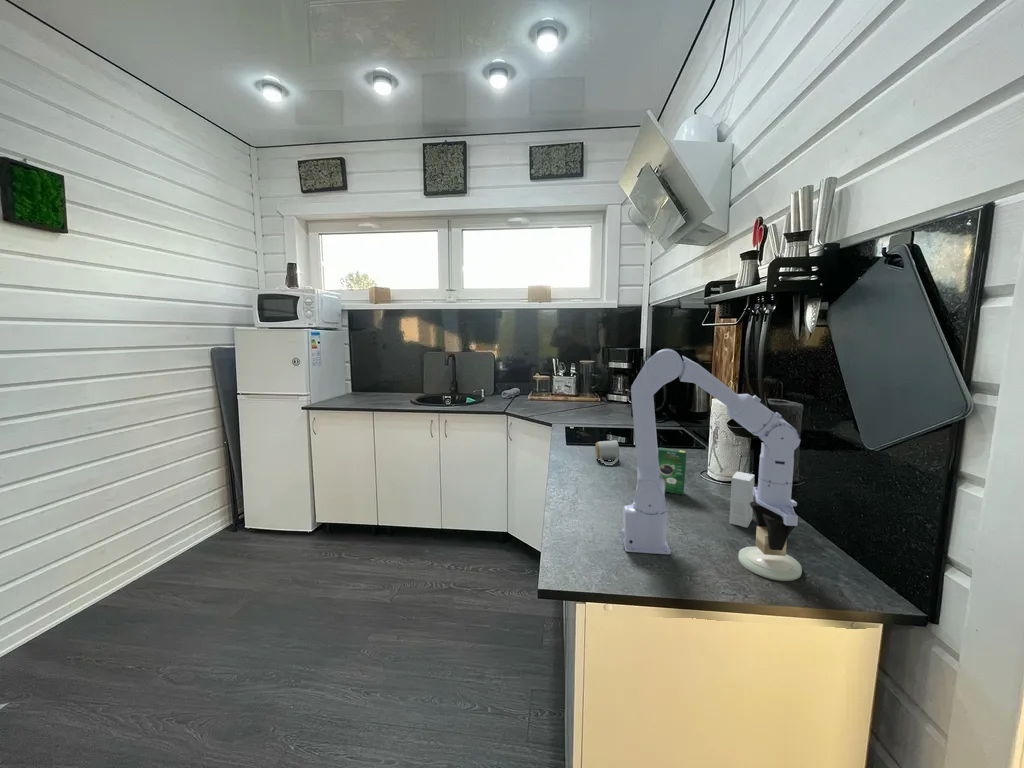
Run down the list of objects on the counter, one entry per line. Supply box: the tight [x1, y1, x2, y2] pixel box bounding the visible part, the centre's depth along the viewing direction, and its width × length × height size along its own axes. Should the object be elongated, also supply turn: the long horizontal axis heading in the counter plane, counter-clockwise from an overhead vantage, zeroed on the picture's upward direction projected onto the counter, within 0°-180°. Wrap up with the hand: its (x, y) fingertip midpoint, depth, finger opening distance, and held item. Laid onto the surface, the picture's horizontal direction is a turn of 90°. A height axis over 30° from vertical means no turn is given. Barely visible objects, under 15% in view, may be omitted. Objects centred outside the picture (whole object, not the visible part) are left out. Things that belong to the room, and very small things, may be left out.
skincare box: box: [728, 471, 756, 528], centre depth 103 cm, size 6×4×12 cm
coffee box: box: [658, 447, 688, 496], centre depth 123 cm, size 8×3×13 cm, turn 65°
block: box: [754, 525, 788, 556], centre depth 84 cm, size 4×4×4 cm
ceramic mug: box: [594, 440, 620, 464], centre depth 152 cm, size 11×8×8 cm
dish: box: [737, 545, 803, 582], centre depth 84 cm, size 11×11×1 cm
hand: (770, 543), depth 84 cm, fingers closed on block, 4 cm apart
